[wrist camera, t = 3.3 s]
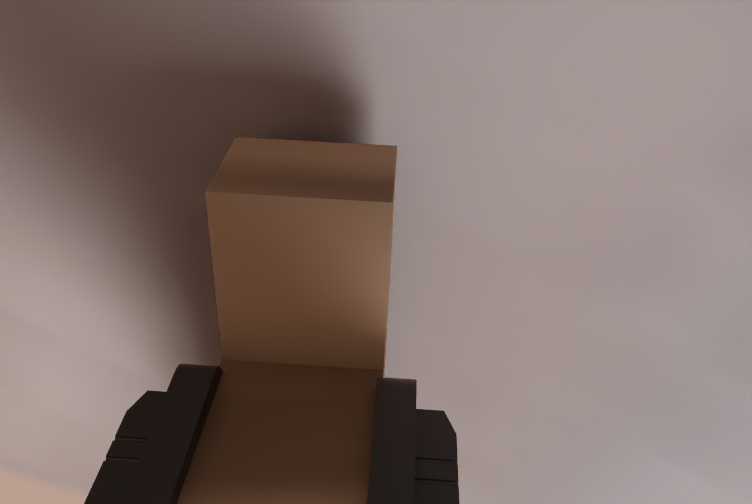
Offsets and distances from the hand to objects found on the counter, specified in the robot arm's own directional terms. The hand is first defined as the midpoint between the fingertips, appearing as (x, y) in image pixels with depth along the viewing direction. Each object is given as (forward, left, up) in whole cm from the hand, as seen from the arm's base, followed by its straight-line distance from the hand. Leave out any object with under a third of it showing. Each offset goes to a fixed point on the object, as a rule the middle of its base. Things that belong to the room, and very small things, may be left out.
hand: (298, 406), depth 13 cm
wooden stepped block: (+1, 0, -3) cm, 3 cm away
